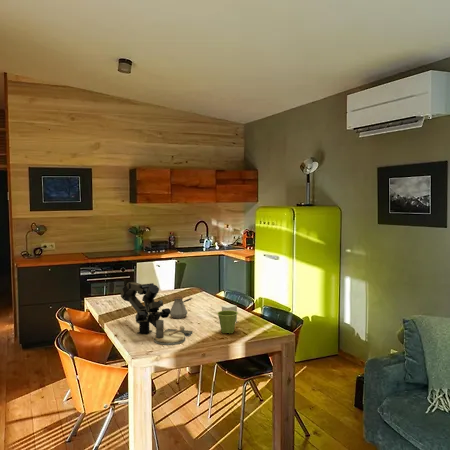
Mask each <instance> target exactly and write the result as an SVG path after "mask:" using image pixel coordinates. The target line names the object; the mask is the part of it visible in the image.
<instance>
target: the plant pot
mask: <svg viewBox="0 0 450 450" xmlns="http://www.w3.org/2000/svg"><path fill="white" fill-rule="evenodd" d="M216 314H217V316H218V320H219V326H220V331H221V333H222V334H224V333H229V334H233V332H234V333H235V327H236V323H235V321H236V317H237V318H238V314H239V312H238V311H237V312H236V311H229V310H227V311H222V310H220V311H218V312H217V313H216Z"/></svg>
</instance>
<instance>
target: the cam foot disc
mask: <svg viewBox="0 0 450 450" xmlns="http://www.w3.org/2000/svg"><path fill="white" fill-rule="evenodd" d="M164 323H165V322H164V320H163V319H159V320H156V328H155V335H154V338H155V340H156V341H158V342H163V343H173V342H179V341H182V340H183V339H184V338H186V336H185V335H184V333H181V332H179V331H183V330H186V329H185V326H184V325H180V326H179V328H178V329H177V330H176V331H165V329H164ZM164 331H165V332H164Z"/></svg>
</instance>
